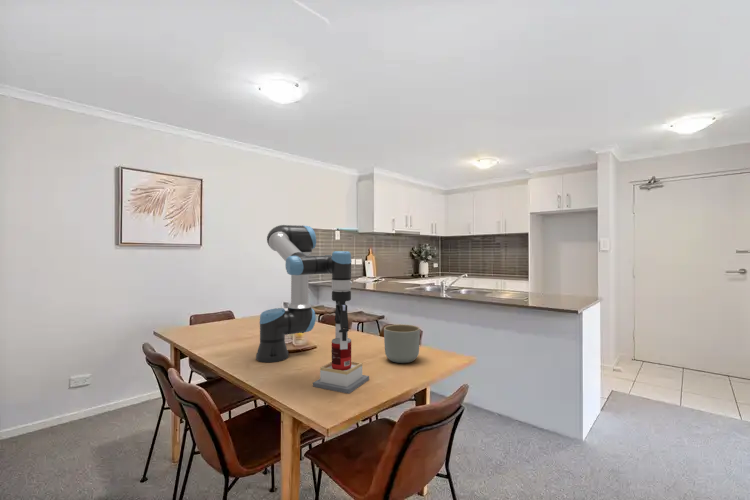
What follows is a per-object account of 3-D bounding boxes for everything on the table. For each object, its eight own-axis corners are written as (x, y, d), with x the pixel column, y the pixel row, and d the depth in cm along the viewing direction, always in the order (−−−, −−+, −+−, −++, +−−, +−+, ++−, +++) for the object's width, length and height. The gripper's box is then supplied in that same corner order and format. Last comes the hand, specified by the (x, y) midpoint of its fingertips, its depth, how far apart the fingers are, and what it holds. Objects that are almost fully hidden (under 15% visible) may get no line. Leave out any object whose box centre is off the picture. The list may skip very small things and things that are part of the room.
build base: (312, 386, 140) (312, 368, 140) (335, 373, 154) (335, 357, 154) (348, 393, 133) (348, 374, 133) (369, 379, 147) (369, 362, 147)
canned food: (352, 364, 147) (352, 337, 147) (349, 371, 139) (349, 342, 139) (334, 364, 148) (334, 337, 148) (329, 370, 140) (329, 342, 140)
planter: (376, 359, 174) (376, 327, 174) (403, 353, 185) (403, 323, 185) (400, 368, 161) (400, 333, 161) (427, 361, 171) (427, 328, 171)
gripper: (356, 294, 132) (356, 352, 132) (345, 286, 156) (345, 335, 157) (336, 294, 130) (335, 354, 131) (328, 287, 155) (328, 336, 155)
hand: (341, 344), depth 144 cm, fingers open, 13 cm apart
